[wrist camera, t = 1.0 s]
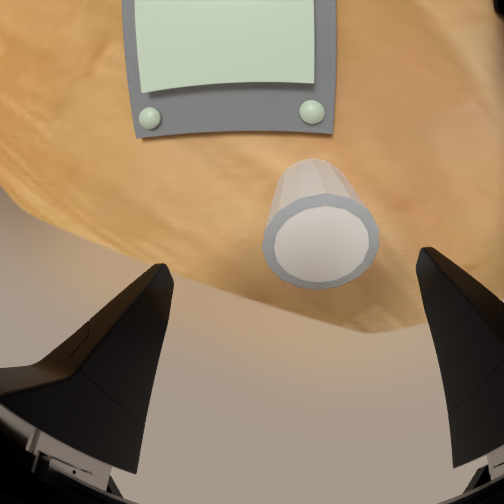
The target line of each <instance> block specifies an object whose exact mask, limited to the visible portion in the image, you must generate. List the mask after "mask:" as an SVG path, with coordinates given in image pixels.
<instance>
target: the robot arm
mask: <svg viewBox="0 0 504 504" xmlns="http://www.w3.org/2000/svg"><path fill="white" fill-rule="evenodd" d="M494 3H495V9H496V11H497V13H498V14H500V15H501V16H503V17H504V0H494ZM500 9H501V10H500ZM416 273H417V278H418V282H419V286H420V291H421V296H422V300H423V305H424V309H425V313H426V316H427V320H428V323H429V327H430V330H431V334H432V338H433V342H434V345H435V349H436V354H437V358H438V362H439V367H440V371H441V376H442V381H443V386H444V392H445V397H446V404H447V410H448V414H449V415H448V418H449V426H450V435H451V446H452V459H453V468H456V467H459V466H462V465H464V464H467V463H469V462H471V461H474V460H476V459H478V458H480V457H483V456H485V455H487V457H488V465H485V466H483V467H481V468H479V469H478V470H477V472H476V474H475V475H474V476H473V478H472V480H471V481H470V483H469V485H468V486H467V488H466V490H465V491H464V492H463V494H461V495H459V496H457V497H454V498H452V499H449V500H446V501H444V502H441V503H438V504H504V303H503V302H502V301H501V300H499V298H498V297H496V296H495V295H494V294H493V293H492V292H490V291H489V290H488V289H487V288H486V287H484V286H483V285H482V284H481V283H479V282H478V281H477V280H476V279H474V278H473V277H472V276H471V275H469V274H468V273H467V272H465V271H464V270H463V269H462V268H460V267H459V266H458V265H456V264H455V263H454V262H452V261H451V260H449V259H448V258H447V257H445V256H444V255H443V254H441V253H440V252H438V251H437V250H436V249H434V248H433V247H423V248H421V250H420V253H419V257H418V260H417V264H416ZM173 287H174V281H173V278H172V276H171V274H170V271H169V269H168V267H167V265H166V264H164V263H161V264H154V265H153V266H152V267H151V268H149V269H148V270H147V271H146V272H144V273H143V274H142V275H141V276H140V277H138V278H137V279H136V280H135V281H134V282H133V283H131V284H130V285H129V286H128V287H127V288H125V289H124V290H123V291H122V292H121V293H119V294H118V295H117V296H116V297H115V298H114V299H113V300H111V301H110V302H109V303H108V304H107V305H106V306H105V307H103V308H102V309H101V310H100V311H99V312H98V313H96V314H95V315H94V316H93V317H92V318H91V319H90V321H87V322H86V323H85V324H84V325H83V326H82V327H81V328H80V329H79V330H77V331H76V332H75V333H74V334H73V335H72V336H71V337H69V338H68V339H67V340H65V341H64V342H63V343H62V344H61V345H59V346H58V347H57V348H55V349H54V350H53V351H52V352H51V353H49V354H48V355H47V356H46V357H44V358H43V359H42V360H40V361H39V362H37V363H35V364H33V365H29V366H20V367H9V368H0V504H138V503H135V502H132V501H129V500H127V499H124V498H123V496H122V495H121V493H120V491H119V490H118V488H117V486H116V484H115V483H114V481H113V479H112V477H111V476H110V472H111V468H112V467H115V468H118V469H121V470H124V471H127V472H130V473H133V474H136V473H137V468H138V462H139V456H140V450H141V444H142V439H143V433H144V428H145V424H144V423H145V422H146V416H147V411H148V406H149V401H150V397H151V392H152V387H153V383H154V378H155V374H156V370H157V365H158V361H159V356H160V352H161V349H162V344H163V340H164V336H165V333H166V329H167V324H168V320H169V313H170V306H171V300H172V294H173Z"/></svg>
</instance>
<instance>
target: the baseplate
mask: <svg viewBox="0 0 504 504" xmlns="http://www.w3.org/2000/svg"><path fill="white" fill-rule="evenodd" d="M122 17H123V35H124V49H125V60H126V70H127V79H128V87H129V95H130V102H131V109H132V116H133V122H134V129H135V134H136V139H137V138H145V137H154V136H163V135H173V134H185V133H200V132H219V131H293V132H313V133H327V134H333V122H334V106H335V83H336V0H122Z"/></svg>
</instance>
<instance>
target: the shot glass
mask: <svg viewBox="0 0 504 504" xmlns="http://www.w3.org/2000/svg"><path fill="white" fill-rule="evenodd" d="M378 249H379V228H378V226H377V224H376V222H375V220H374V219H373V217H372V215H371V213H370V211H369V210H368V208H367V207H366V205H365V204H364V203H363V201H362V200H361V198H360V197H359V195H358V194H357V193H356V191H355V190H354V188H353V187H352V186H351V184H350V183H349V182H348V180H347V179H346V177H345V176H344V175H343V173H342V172H341V171H340V169H338V168H337V167H335V166H334V165H332V164H331V163H329V162H328V161H324V160H319V159H314V158H312V159H306V160H301V161H297V162H296V163H294V164H293V165H291V166H290V167H288V168H286V169H285V171H284V172H283V174H282V175H281V177H280V178H279V179H278V182H277V186H276V190H275V194H274V197H273V201H272V205H271V209H270V213H269V217H268V221H267V224H266V228H265V234H264V240H263V246H262V250H263V253H264V256H265V259H266V262H267V265H268V266H269V267H270V268H271V269H272V270H273V272H274V273H275V274H276V275H277V276H278V277H279V278H280V279H282V280H284V281H286V282H288V283H290V284H292V285H295V286H297V287H300V288H308V289H316V290H321V289H327V288H333V287H339V286H341V285H343V284H345V283H347V282H350V281H352V280H354V279H356V278H357V277H359V276H360V275H361V274H362V273H363V272H364V271H365V270H366V269H367V268H368V267H369V266H370V265H371V264H372V262H373V259H374V257H375V255H376V253H377V251H378Z"/></svg>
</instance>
